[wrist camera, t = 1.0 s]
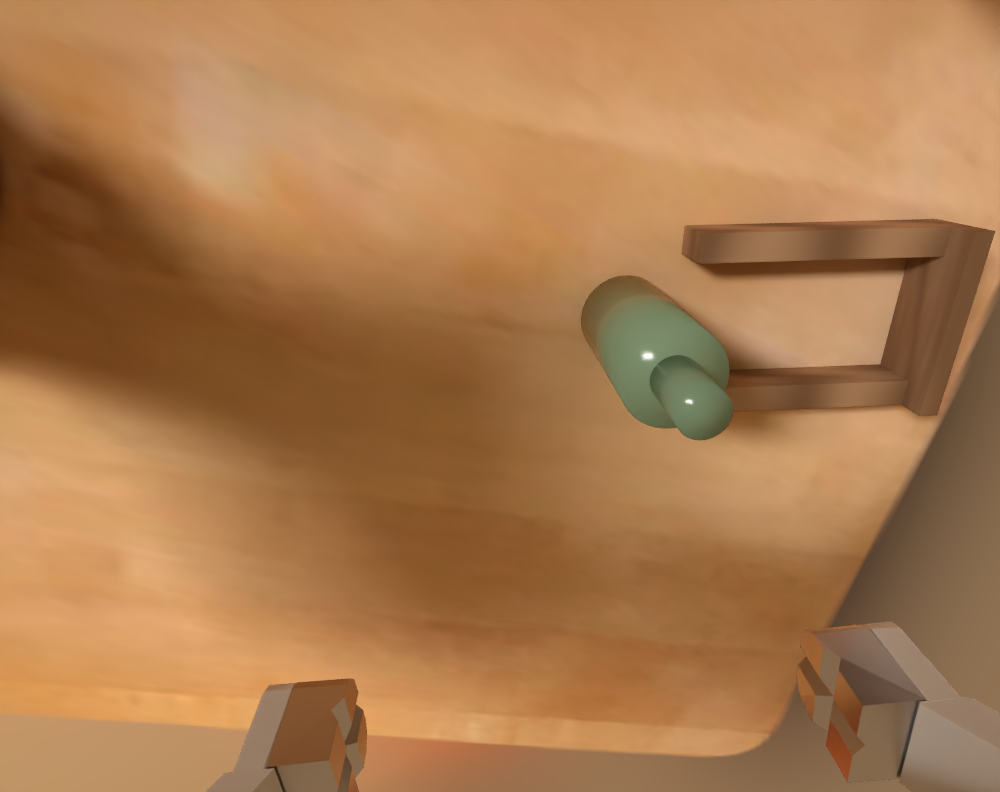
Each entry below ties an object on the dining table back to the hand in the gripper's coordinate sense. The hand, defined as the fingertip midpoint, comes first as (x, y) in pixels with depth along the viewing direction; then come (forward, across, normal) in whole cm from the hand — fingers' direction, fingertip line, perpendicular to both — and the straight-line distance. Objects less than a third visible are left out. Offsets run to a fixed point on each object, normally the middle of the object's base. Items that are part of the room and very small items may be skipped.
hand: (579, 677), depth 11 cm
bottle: (+25, -6, +1) cm, 26 cm away
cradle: (+25, -16, +2) cm, 30 cm away
